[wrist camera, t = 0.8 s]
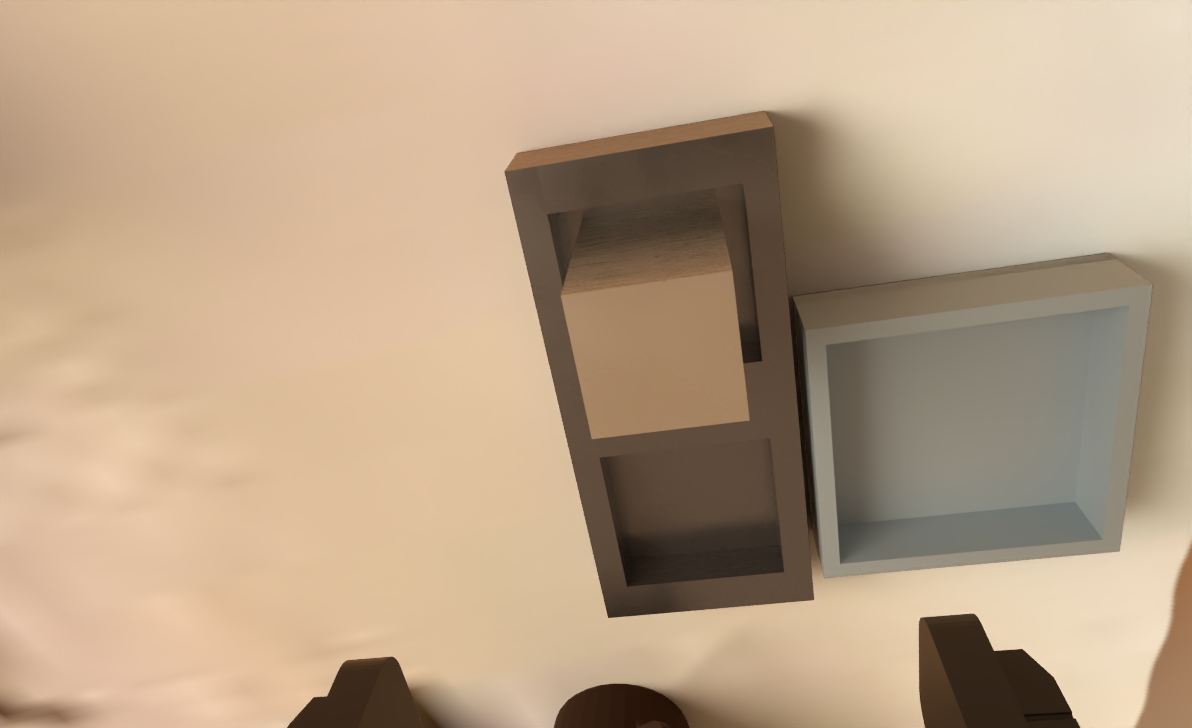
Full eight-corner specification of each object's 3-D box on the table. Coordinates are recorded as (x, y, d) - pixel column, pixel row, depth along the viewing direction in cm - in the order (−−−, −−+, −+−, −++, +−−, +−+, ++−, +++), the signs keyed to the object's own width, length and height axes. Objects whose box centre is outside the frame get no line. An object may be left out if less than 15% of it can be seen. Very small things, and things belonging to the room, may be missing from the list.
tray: (792, 296, 29) (805, 330, 26) (1107, 252, 27) (1152, 284, 25) (812, 530, 33) (824, 578, 31) (1083, 503, 32) (1119, 551, 29)
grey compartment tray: (517, 153, 27) (504, 171, 25) (764, 110, 26) (773, 126, 24) (611, 576, 35) (608, 617, 33) (804, 558, 34) (814, 599, 32)
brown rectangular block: (581, 219, 27) (560, 295, 21) (716, 198, 26) (732, 270, 21) (605, 339, 29) (591, 439, 23) (731, 322, 28) (749, 420, 23)
